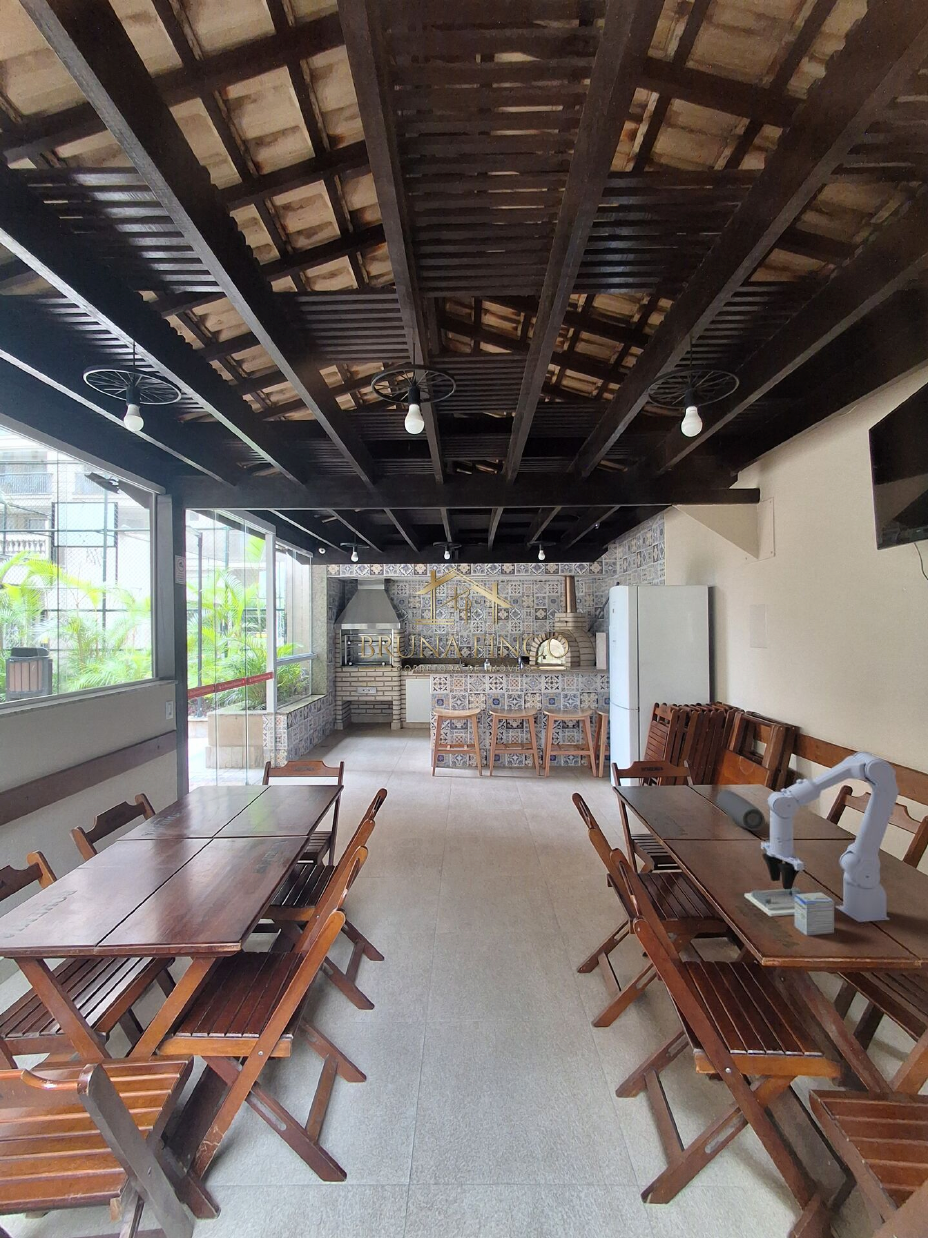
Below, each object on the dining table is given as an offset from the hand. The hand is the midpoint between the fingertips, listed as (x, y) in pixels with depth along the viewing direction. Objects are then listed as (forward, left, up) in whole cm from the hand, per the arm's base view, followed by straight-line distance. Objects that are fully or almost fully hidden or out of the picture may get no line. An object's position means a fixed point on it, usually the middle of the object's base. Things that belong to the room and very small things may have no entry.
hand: (781, 884), depth 156 cm
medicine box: (+1, +13, -6) cm, 14 cm away
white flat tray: (0, 0, -6) cm, 6 cm away
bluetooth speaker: (-28, -59, -6) cm, 65 cm away
